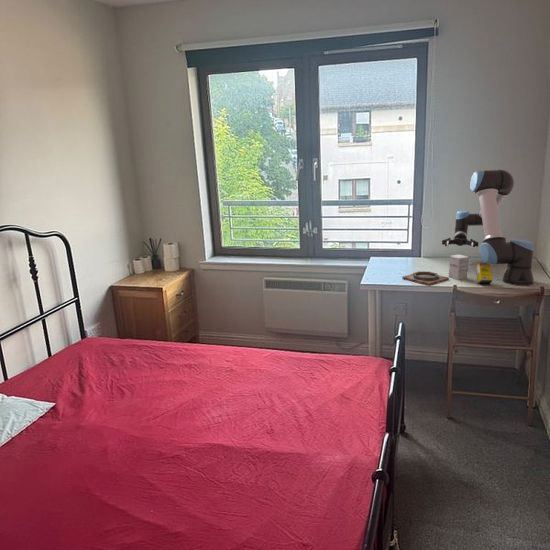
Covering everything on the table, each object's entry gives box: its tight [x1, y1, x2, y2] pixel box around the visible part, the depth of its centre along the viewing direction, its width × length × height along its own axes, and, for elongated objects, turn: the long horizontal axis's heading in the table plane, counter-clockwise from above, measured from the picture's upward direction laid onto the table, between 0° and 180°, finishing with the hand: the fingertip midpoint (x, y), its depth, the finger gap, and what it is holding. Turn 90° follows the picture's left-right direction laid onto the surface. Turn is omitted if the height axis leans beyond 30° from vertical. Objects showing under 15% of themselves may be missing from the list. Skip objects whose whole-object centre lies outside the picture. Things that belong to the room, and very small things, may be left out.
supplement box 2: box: [475, 262, 493, 285], centre depth 268 cm, size 6×6×11 cm
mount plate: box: [402, 270, 450, 286], centre depth 279 cm, size 18×18×3 cm
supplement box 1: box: [448, 254, 470, 281], centre depth 280 cm, size 7×7×13 cm
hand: (459, 246), depth 286 cm, fingers open, 13 cm apart
